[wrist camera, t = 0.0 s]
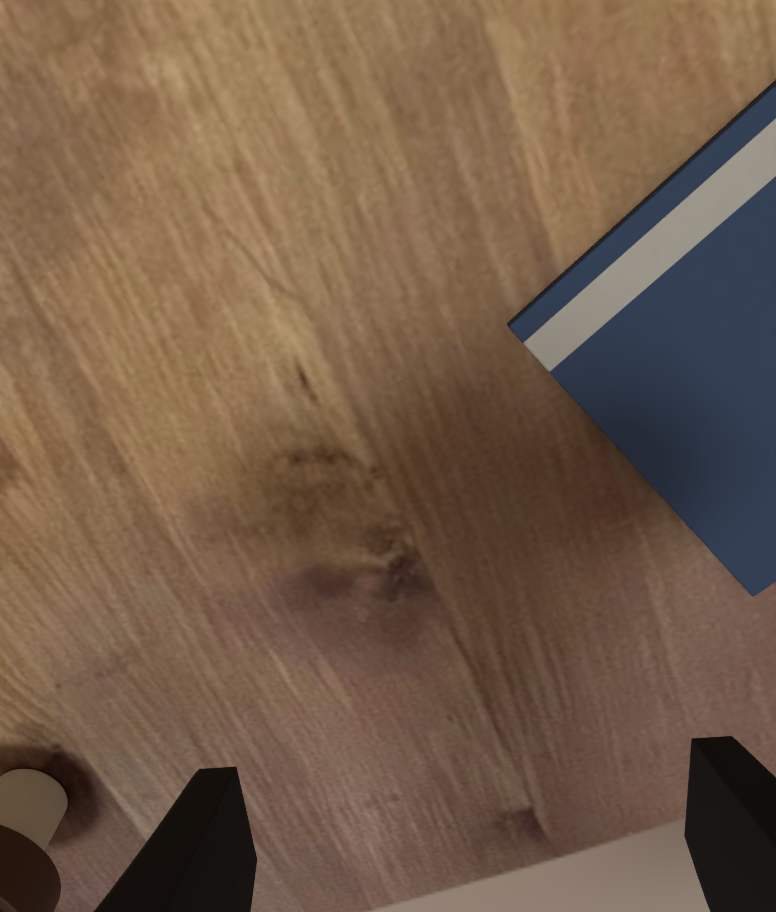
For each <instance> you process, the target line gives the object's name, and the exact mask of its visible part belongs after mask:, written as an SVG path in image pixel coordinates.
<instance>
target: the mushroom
mask: <svg viewBox="0 0 776 912" xmlns="http://www.w3.org/2000/svg"><path fill="white" fill-rule="evenodd" d="M67 804H68V801H67V795H66V793H65V791H64V789H63V787H62V786H61V785H60V784H59V783H58V782H57V781H56V780H55V779H54V778H52V777H51V776H49V775H47V774H45V773H43V772H40V771H37V770H32V769H15V770H11V771H9V772H6V773H5V774H3V775H2V776H0V912H54V910H55V907H56V905H57V903H58V901H59V897H60V892H61V883H60V877H59V874H58V871H57V869H56V867H55V865H54V863H53V862H52V860H51V859H50V857H49V856H48V855H47V854H46V852H45V850H46V848H47V846H48V844H49V842H50V840H51V838H52V836H53V834H54V833H55V831H56V829H57V827H58V825H59V823H60V821H61V819H62V818H63V816H64V814H65V812H66V809H67Z"/></svg>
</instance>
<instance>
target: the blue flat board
mask: <svg viewBox="0 0 776 912" xmlns="http://www.w3.org/2000/svg"><path fill="white" fill-rule="evenodd" d="M507 325H508V327H509V328H510V329H511V330H512V332H513V333H514V334H515V335H516V336H517V337H518V338H519V339H520V340H521V342H522V343H523V344H524V345H525V346H526V347H527V348H528V349H529V350H530V351H531V353H532V354H533V355H534V356H535V357H536V358H537V359H538V360H539V361H540V363H541V364H542V365H543V366H544V367H545V368H546V369H547V370H548V371H549V372H550V374H551V375H552V376H553V377H554V378H555V379H556V380H557V381H558V382H559V384H560V385H561V386H562V387H563V388H564V389H565V390H566V391H567V392H568V393H569V395H570V396H571V397H572V398H573V399H574V400H575V401H576V402H577V403H578V405H579V406H580V407H581V408H582V409H583V410H584V411H585V412H586V413H587V414H588V416H589V417H590V418H591V419H592V420H593V421H594V422H595V423H596V424H597V425H598V427H599V428H600V429H601V430H602V431H603V432H604V433H605V434H606V435H607V437H608V438H609V439H610V440H611V441H612V442H613V443H614V444H615V445H616V446H617V448H618V449H619V450H620V451H621V452H622V453H623V454H624V455H625V456H626V458H627V459H628V460H629V461H630V462H631V463H632V464H633V465H634V466H635V467H636V469H637V470H638V471H639V472H640V473H641V474H642V475H643V476H644V477H645V479H646V480H647V481H648V482H649V483H650V484H651V485H652V486H653V487H654V488H655V490H656V491H657V492H658V493H659V494H660V495H661V496H662V497H663V498H664V500H665V501H666V502H667V503H668V504H669V505H670V506H671V507H672V508H673V509H674V511H675V512H676V513H677V514H678V515H679V516H680V517H681V518H682V519H683V521H684V522H685V523H686V524H687V525H688V526H689V527H690V528H691V529H692V530H693V532H694V533H695V534H696V535H697V536H698V537H699V538H700V539H701V540H702V542H703V543H704V544H705V545H706V546H707V547H708V548H709V549H710V550H711V551H712V553H713V554H714V555H715V556H716V557H717V558H718V559H719V560H720V561H721V562H722V564H723V565H724V566H725V567H726V568H727V569H728V570H729V571H730V572H731V574H732V575H733V576H734V577H735V578H736V579H737V580H738V581H739V582H740V583H741V585H742V586H743V587H744V588H745V589H746V590H747V591H748V592H749V593H750V595H751V596H755V595H757V594H758V593H760V592H761V591H762V590H764V589H765V588H767V587H768V586H770V585H771V584H773V583H774V582H775V581H776V81H775V82H774V83H773V84H772V85H771V86H770V87H769V88H767V89H766V90H765V91H764V92H763V93H762V94H761V95H760V96H759V97H757V98H756V99H755V100H754V101H753V102H752V103H751V104H750V105H749V106H748V107H746V108H745V109H744V110H743V111H742V112H741V113H740V114H739V115H738V116H736V117H735V118H734V119H733V120H732V121H731V122H730V123H729V124H728V125H727V126H725V127H724V128H723V129H722V130H721V131H720V132H719V133H718V134H717V135H716V136H714V137H713V138H712V139H711V140H710V141H709V142H708V143H707V144H706V145H704V146H703V147H702V148H701V149H700V150H699V151H698V152H697V153H696V154H695V155H693V156H692V157H691V158H690V159H689V160H688V161H687V162H686V163H685V164H683V165H682V166H681V167H680V168H679V169H678V170H677V171H676V172H675V173H674V174H672V175H671V176H670V177H669V178H668V179H667V180H666V181H665V182H664V183H663V184H661V185H660V186H659V187H658V188H657V189H656V190H655V191H654V192H653V193H651V194H650V195H649V196H648V197H647V198H646V199H645V200H644V201H643V202H642V203H640V204H639V205H638V206H637V207H636V208H635V209H634V210H633V211H632V212H631V213H629V214H628V215H627V216H626V217H625V218H624V219H623V220H622V221H621V222H619V223H618V224H617V225H616V226H615V227H614V228H613V229H612V230H611V231H610V232H608V233H607V234H606V235H605V236H604V237H603V238H602V239H601V240H600V241H598V242H597V243H596V244H595V245H594V246H593V247H592V248H591V249H590V250H589V251H587V252H586V253H585V254H584V255H583V256H582V257H581V258H580V259H579V260H578V261H576V262H575V263H574V264H573V265H572V266H571V267H570V268H569V269H568V270H566V271H565V272H564V273H563V274H562V275H561V276H560V277H559V278H558V279H557V280H555V281H554V282H553V283H552V284H551V285H550V286H549V287H548V288H547V289H545V290H544V291H543V292H542V293H541V294H540V295H539V296H538V297H537V298H536V299H534V300H533V301H532V302H531V303H530V304H529V305H528V306H527V307H526V308H525V309H523V310H522V311H521V312H520V313H519V314H518V315H517V316H516V317H515V318H513V319H512V320H511V321H510V322H509V323H508V324H507Z"/></svg>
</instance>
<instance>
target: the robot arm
mask: <svg viewBox="0 0 776 912" xmlns="http://www.w3.org/2000/svg"><path fill="white" fill-rule="evenodd" d="M685 839H686V842H687V845H688V848H689V851H690V854H691V857H692V860H693V863H694V866H695V869H696V873H697V876H698V878H699V881H700V884H701V887H702V890H703V893H704V896H705V899H706V901H707V904H708V907H709V909H710V912H776V777H775V776H774V775H773V774H772V773H770V772H769V771H768V770H767V769H766V768H765V767H764V766H763V765H762V764H761V763H760V762H759V761H758V760H757V759H756V758H755V757H754V756H753V755H752V754H751V753H750V752H748V751H747V750H746V749H745V748H744V747H743V746H742V745H741V744H740V743H739V742H738V741H737V740H736V739H734V738H733V737H732V736H725V737H709V738H693V739H692V741H691V754H690V768H689V781H688V795H687V808H686V822H685ZM256 864H257V857H256V852H255V848H254V843H253V839H252V834H251V830H250V825H249V821H248V816H247V812H246V807H245V803H244V798H243V794H242V789H241V785H240V780H239V776H238V771H237V767H223V768H207V769H199V770H198V771H197V772H196V773H195V774H194V776H193V777H192V778H191V780H190V781H189V783H188V784H187V786H186V787H185V788H184V790H183V791H182V793H181V794H180V796H179V797H178V799H177V800H176V801H175V803H174V804H173V806H172V807H171V809H170V810H169V811H168V813H167V814H166V816H165V817H164V819H163V820H162V821H161V823H160V824H159V826H158V827H157V828H156V830H155V831H154V833H153V834H152V835H151V837H150V838H149V840H148V841H147V842H146V844H145V845H144V846H143V848H142V849H141V851H140V852H139V853H138V855H137V856H136V857H135V859H134V860H133V861H132V863H131V864H130V865H129V867H128V868H127V869H126V871H125V872H124V873H123V874H122V876H121V877H120V878H119V880H118V881H117V882H116V884H115V885H114V886H113V888H112V889H111V890H110V892H109V893H108V894H107V896H106V897H105V898H104V899H103V901H102V902H101V903H100V904H99V906H98V907H97V908H96V909H95V911H94V912H250V910H251V903H252V896H253V888H254V880H255V872H256Z"/></svg>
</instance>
